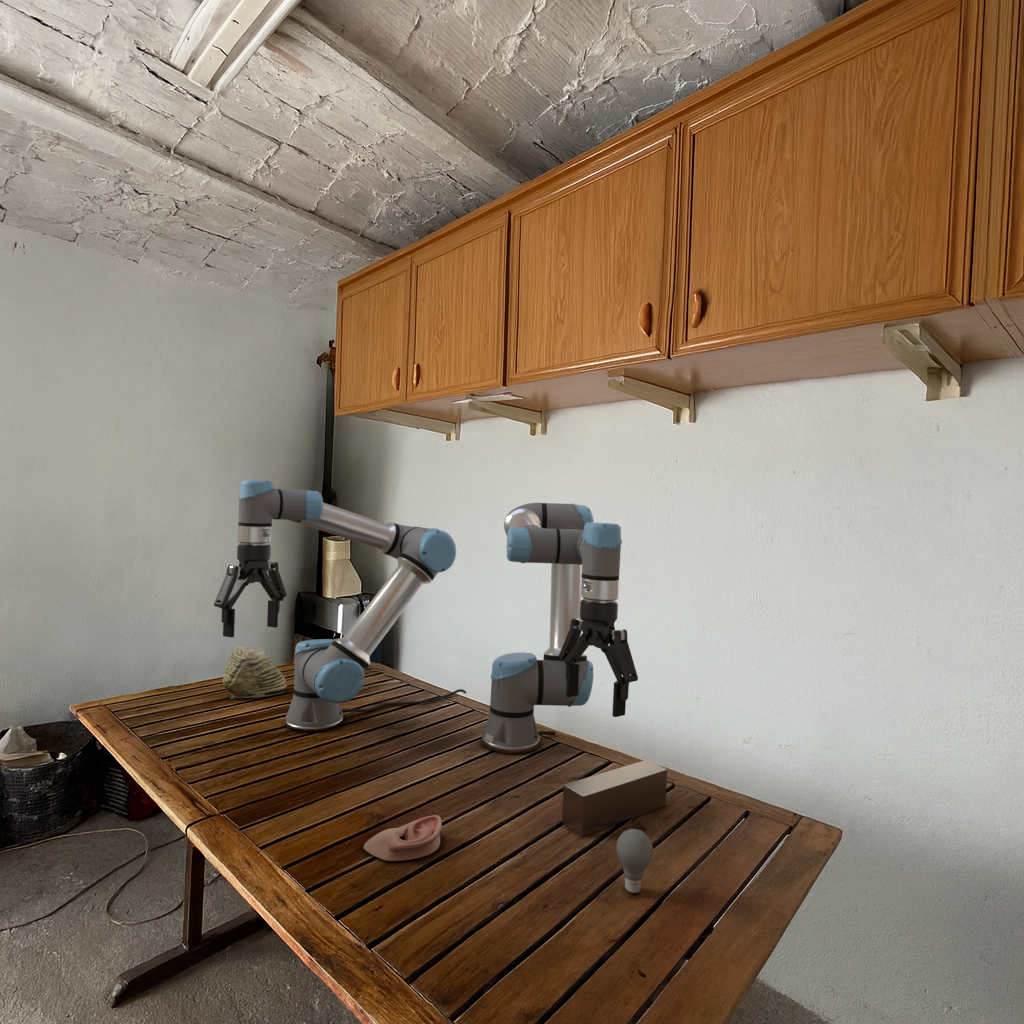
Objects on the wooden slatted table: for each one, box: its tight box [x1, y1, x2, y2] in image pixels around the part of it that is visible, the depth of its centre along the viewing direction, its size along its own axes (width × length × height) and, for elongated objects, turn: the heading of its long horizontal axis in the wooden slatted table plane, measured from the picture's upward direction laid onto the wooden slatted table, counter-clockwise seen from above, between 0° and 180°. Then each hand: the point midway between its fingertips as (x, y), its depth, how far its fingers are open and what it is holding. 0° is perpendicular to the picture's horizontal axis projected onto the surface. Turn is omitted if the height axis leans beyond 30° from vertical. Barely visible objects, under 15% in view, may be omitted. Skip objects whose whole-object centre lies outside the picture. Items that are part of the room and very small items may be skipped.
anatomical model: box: [363, 814, 443, 862], centre depth 116 cm, size 13×4×12 cm
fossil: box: [222, 646, 288, 699], centre depth 198 cm, size 9×18×15 cm, turn 132°
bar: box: [561, 759, 668, 837], centre depth 132 cm, size 24×6×8 cm, turn 126°
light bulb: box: [615, 828, 654, 894], centre depth 106 cm, size 6×6×10 cm
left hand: (251, 631), depth 153 cm, fingers open, 13 cm apart
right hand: (594, 705), depth 127 cm, fingers open, 13 cm apart
